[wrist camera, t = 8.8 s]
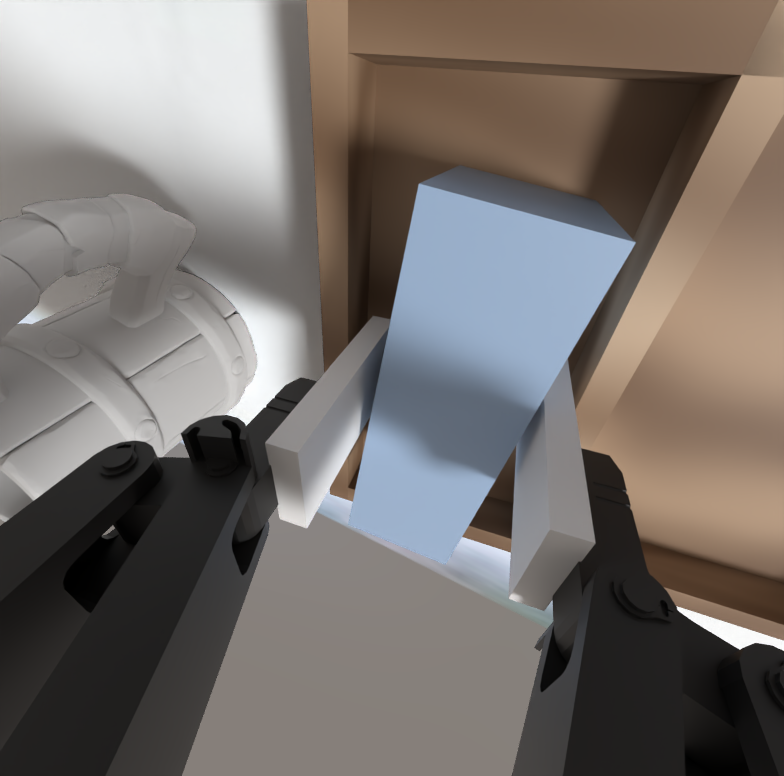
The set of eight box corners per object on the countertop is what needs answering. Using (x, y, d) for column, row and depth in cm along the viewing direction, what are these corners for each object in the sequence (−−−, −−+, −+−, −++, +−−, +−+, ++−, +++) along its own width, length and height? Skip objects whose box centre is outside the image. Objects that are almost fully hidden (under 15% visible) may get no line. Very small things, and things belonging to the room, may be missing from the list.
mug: (136, 353, 21) (-172, 528, 12) (123, 128, 14) (-732, 127, 4) (250, 418, 21) (34, 640, 12) (298, 230, 14) (-172, 436, 5)
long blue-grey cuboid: (460, 165, 11) (418, 183, 7) (596, 200, 10) (636, 242, 6) (387, 440, 18) (348, 524, 14) (464, 468, 18) (445, 564, 14)
